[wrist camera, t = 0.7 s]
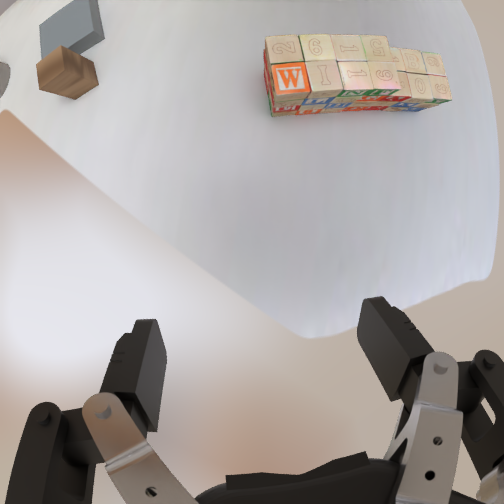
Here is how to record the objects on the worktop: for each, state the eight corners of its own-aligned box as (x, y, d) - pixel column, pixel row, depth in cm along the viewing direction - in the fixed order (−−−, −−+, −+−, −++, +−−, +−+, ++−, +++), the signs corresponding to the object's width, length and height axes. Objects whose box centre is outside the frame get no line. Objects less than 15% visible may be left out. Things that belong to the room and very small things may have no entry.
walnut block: (70, 77, 32) (36, 64, 23) (93, 62, 31) (60, 45, 23) (75, 99, 33) (39, 89, 24) (98, 84, 33) (64, 70, 24)
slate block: (52, 31, 29) (39, 25, 25) (98, 1, 28) (87, -9, 24) (56, 71, 32) (42, 66, 28) (105, 39, 31) (93, 30, 27)
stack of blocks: (408, 72, 31) (454, 47, 19) (417, 112, 33) (468, 98, 21) (262, 74, 33) (264, 35, 21) (270, 118, 34) (275, 94, 22)
